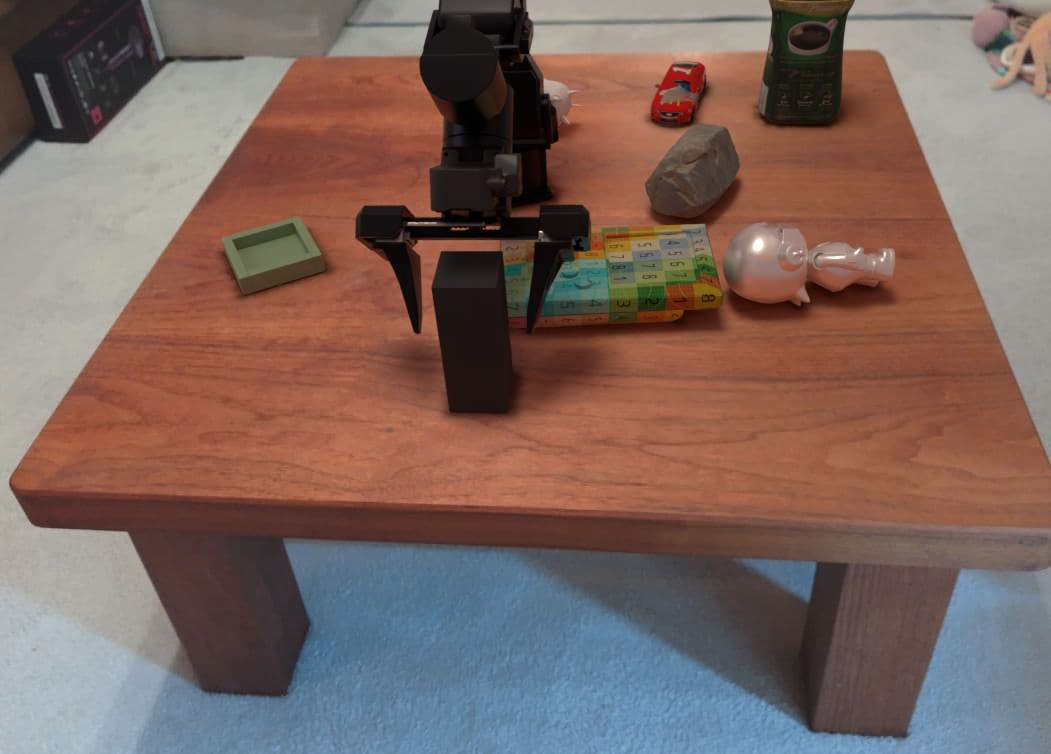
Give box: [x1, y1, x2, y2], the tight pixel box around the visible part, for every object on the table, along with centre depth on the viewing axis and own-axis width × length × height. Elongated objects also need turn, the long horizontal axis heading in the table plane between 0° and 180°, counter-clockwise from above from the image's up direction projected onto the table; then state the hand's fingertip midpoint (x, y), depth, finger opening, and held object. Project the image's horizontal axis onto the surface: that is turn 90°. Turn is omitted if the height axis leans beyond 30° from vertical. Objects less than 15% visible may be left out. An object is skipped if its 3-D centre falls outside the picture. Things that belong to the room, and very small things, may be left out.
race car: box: [650, 60, 707, 124], centre depth 124 cm, size 13×5×4 cm, turn 160°
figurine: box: [722, 221, 896, 307], centre depth 92 cm, size 11×7×15 cm
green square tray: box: [220, 215, 326, 296], centre depth 103 cm, size 8×8×2 cm
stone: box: [644, 122, 741, 219], centre depth 106 cm, size 12×8×8 cm, turn 152°
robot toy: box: [543, 77, 584, 127], centre depth 121 cm, size 15×9×14 cm
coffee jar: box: [758, 0, 856, 125], centre depth 116 cm, size 10×8×19 cm
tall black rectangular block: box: [430, 250, 514, 414], centre depth 82 cm, size 5×5×13 cm
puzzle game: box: [499, 223, 724, 329], centre depth 95 cm, size 12×5×20 cm
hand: (473, 334), depth 81 cm, fingers open, 9 cm apart
